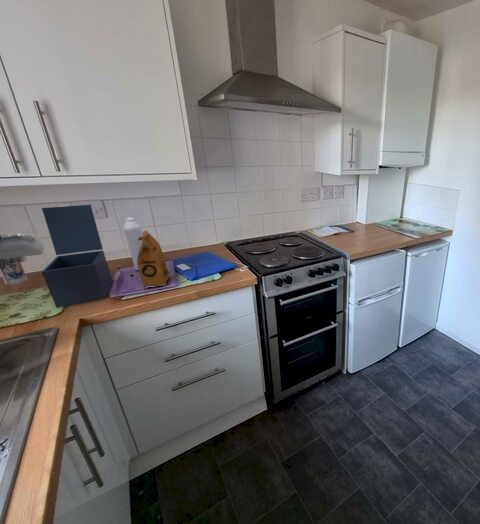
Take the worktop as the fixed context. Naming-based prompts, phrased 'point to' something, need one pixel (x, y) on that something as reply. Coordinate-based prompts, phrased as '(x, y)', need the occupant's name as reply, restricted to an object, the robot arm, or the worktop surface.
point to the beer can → (12, 271)
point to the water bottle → (133, 238)
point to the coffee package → (151, 262)
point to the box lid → (72, 229)
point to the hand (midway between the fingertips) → (9, 261)
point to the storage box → (78, 278)
